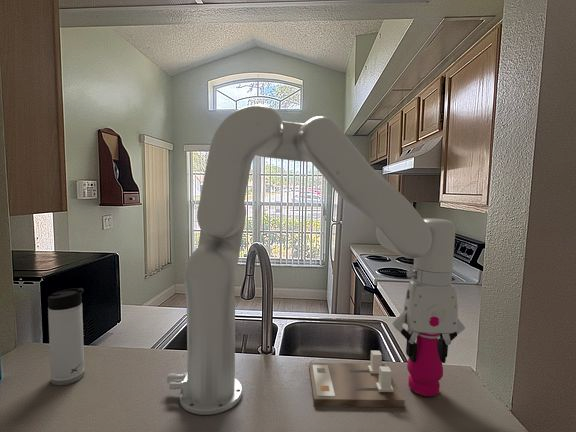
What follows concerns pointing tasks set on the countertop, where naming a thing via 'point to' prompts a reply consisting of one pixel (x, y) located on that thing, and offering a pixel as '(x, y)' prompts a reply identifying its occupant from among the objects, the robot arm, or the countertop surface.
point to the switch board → (350, 386)
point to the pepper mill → (426, 364)
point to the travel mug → (66, 336)
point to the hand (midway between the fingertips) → (426, 358)
